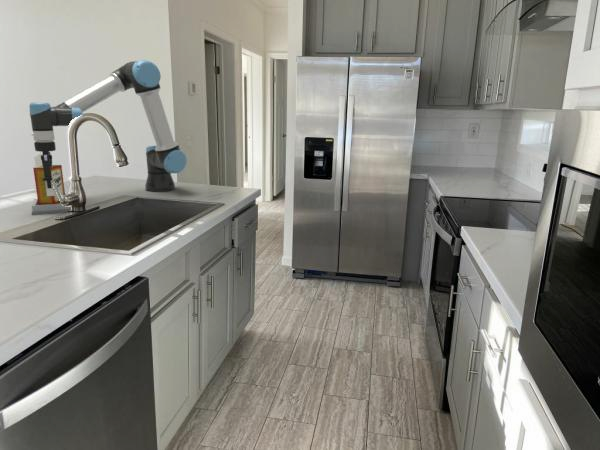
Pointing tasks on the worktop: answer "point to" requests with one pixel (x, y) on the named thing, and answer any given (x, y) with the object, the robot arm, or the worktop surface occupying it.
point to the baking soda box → (41, 187)
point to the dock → (48, 208)
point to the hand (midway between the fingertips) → (51, 193)
